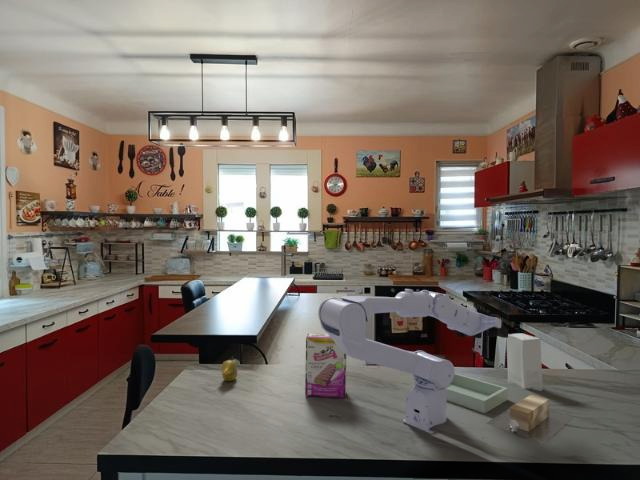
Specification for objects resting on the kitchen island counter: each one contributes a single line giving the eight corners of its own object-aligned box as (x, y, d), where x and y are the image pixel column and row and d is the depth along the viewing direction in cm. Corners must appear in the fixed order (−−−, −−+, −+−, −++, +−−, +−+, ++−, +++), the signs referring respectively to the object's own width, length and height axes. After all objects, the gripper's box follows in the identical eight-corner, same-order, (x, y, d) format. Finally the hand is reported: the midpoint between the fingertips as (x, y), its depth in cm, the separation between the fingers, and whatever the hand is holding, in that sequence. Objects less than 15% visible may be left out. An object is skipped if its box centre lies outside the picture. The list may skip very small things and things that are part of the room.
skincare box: (543, 391, 112) (543, 339, 112) (523, 392, 111) (523, 339, 111) (523, 381, 120) (524, 332, 120) (505, 381, 120) (505, 332, 119)
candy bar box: (304, 397, 107) (305, 336, 107) (307, 390, 112) (307, 332, 112) (346, 399, 106) (346, 338, 106) (346, 391, 111) (346, 333, 111)
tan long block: (528, 432, 86) (528, 413, 86) (509, 425, 89) (509, 407, 89) (549, 416, 94) (549, 399, 94) (531, 410, 97) (531, 394, 97)
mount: (542, 449, 81) (542, 431, 81) (485, 427, 90) (485, 412, 90) (572, 422, 93) (572, 407, 93) (519, 406, 102) (519, 392, 102)
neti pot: (216, 389, 112) (216, 366, 112) (227, 372, 127) (228, 351, 127) (232, 389, 112) (232, 366, 112) (241, 372, 127) (241, 351, 127)
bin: (484, 417, 96) (484, 400, 96) (419, 394, 110) (419, 379, 110) (507, 403, 104) (507, 388, 104) (444, 383, 118) (444, 370, 118)
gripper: (485, 298, 93) (520, 317, 99) (437, 304, 105) (471, 320, 111) (483, 327, 90) (519, 345, 96) (434, 330, 102) (468, 345, 108)
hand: (493, 334), depth 103 cm, fingers open, 7 cm apart
